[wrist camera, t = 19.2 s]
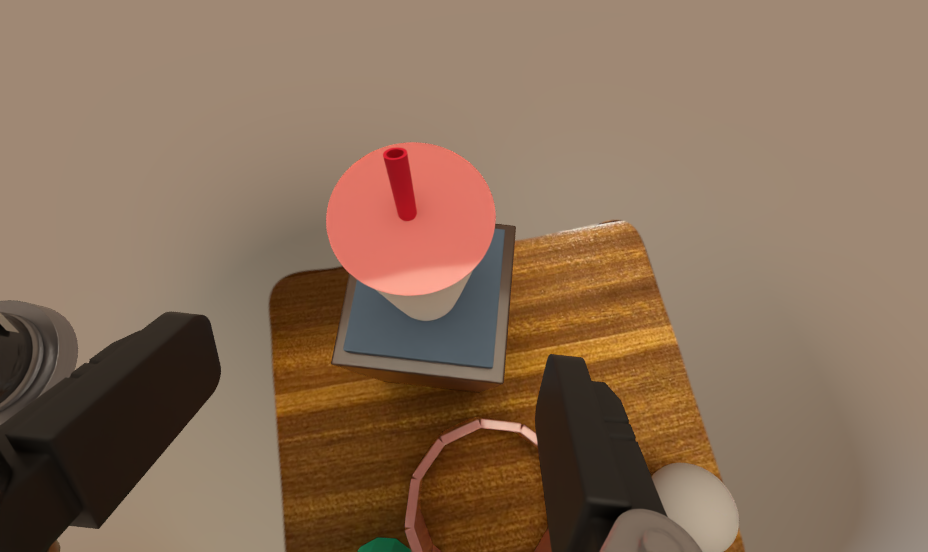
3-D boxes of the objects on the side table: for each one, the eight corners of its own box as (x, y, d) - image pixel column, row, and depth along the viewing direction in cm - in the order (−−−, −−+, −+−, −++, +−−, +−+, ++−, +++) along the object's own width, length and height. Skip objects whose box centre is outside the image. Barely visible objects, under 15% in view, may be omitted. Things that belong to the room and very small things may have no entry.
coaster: (346, 352, 21) (342, 350, 20) (372, 220, 23) (369, 214, 23) (491, 369, 21) (493, 367, 20) (503, 235, 23) (505, 229, 23)
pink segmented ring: (402, 571, 34) (393, 606, 28) (424, 410, 37) (419, 411, 32) (556, 589, 34) (578, 628, 28) (562, 426, 37) (582, 430, 32)
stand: (384, 381, 38) (330, 364, 21) (399, 289, 41) (362, 207, 24) (479, 392, 38) (503, 384, 21) (488, 300, 41) (516, 225, 24)
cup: (384, 237, 22) (315, 60, 11) (481, 247, 22) (515, 82, 11) (367, 334, 21) (264, 247, 9) (472, 345, 21) (500, 272, 9)
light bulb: (612, 448, 37) (668, 464, 27) (676, 456, 37) (755, 474, 27) (612, 521, 35) (672, 566, 26) (679, 529, 35) (765, 576, 26)
